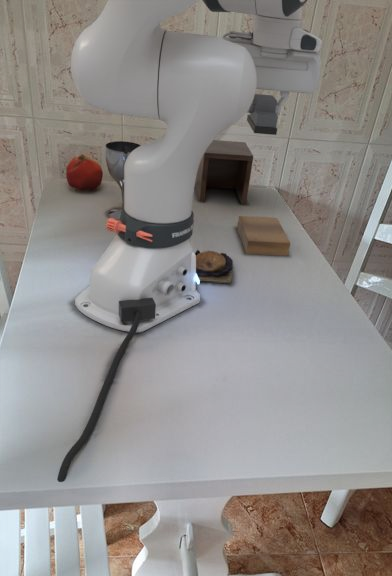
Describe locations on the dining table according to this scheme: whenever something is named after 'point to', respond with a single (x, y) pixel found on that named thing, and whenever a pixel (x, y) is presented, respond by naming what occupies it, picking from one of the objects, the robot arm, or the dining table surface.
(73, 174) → the red pomegranate
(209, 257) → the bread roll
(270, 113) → the grey notched block
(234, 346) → the dining table surface
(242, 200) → the open box
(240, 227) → the brown wooden block
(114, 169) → the wine glass
